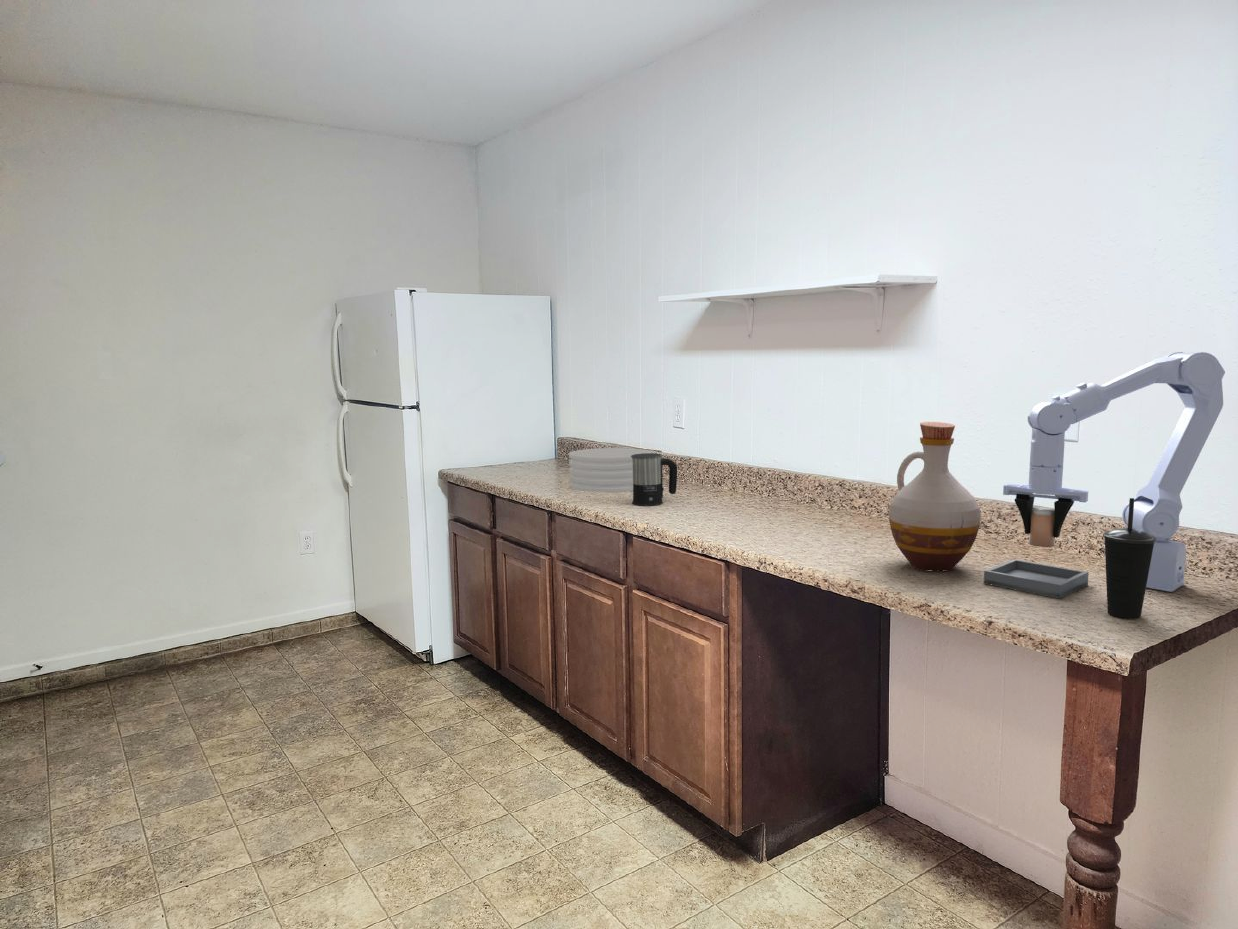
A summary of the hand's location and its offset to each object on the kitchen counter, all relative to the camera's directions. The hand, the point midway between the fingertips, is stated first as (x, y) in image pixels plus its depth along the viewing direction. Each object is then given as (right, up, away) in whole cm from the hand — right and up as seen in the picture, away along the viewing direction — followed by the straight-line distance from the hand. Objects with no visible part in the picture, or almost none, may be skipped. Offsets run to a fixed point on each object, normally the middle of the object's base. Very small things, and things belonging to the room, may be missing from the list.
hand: (1042, 534), depth 162 cm
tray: (-2, -9, -2) cm, 10 cm away
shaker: (0, -2, 0) cm, 2 cm away
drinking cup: (+3, -12, -21) cm, 24 cm away
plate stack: (-85, +6, +124) cm, 151 cm away
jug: (-17, -8, +13) cm, 23 cm away
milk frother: (-73, +2, +93) cm, 118 cm away
